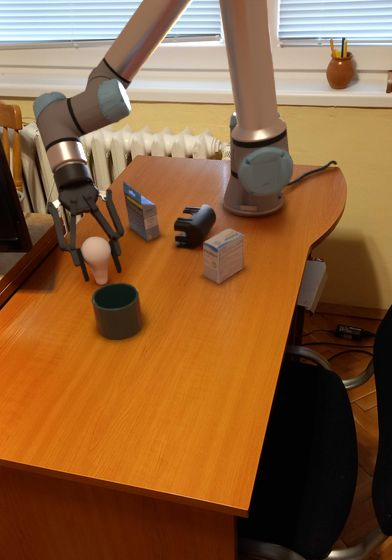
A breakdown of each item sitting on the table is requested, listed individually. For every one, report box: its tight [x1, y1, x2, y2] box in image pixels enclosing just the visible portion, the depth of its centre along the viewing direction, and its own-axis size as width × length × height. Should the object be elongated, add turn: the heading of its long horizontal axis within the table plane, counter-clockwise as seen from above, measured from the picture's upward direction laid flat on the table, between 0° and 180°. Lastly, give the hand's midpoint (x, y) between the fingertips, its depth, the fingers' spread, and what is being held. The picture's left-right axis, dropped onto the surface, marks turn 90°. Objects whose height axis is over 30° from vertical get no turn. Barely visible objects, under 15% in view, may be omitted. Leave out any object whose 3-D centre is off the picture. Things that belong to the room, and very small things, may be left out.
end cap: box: [173, 203, 217, 250], centre depth 128 cm, size 10×7×7 cm
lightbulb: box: [80, 236, 112, 286], centre depth 115 cm, size 6×6×11 cm
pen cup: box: [91, 282, 144, 341], centre depth 105 cm, size 9×9×7 cm
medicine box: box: [202, 227, 245, 285], centre depth 116 cm, size 8×4×9 cm, turn 134°
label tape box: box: [122, 180, 161, 242], centre depth 130 cm, size 9×4×12 cm, turn 34°
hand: (103, 275), depth 113 cm, fingers closed on lightbulb, 6 cm apart
